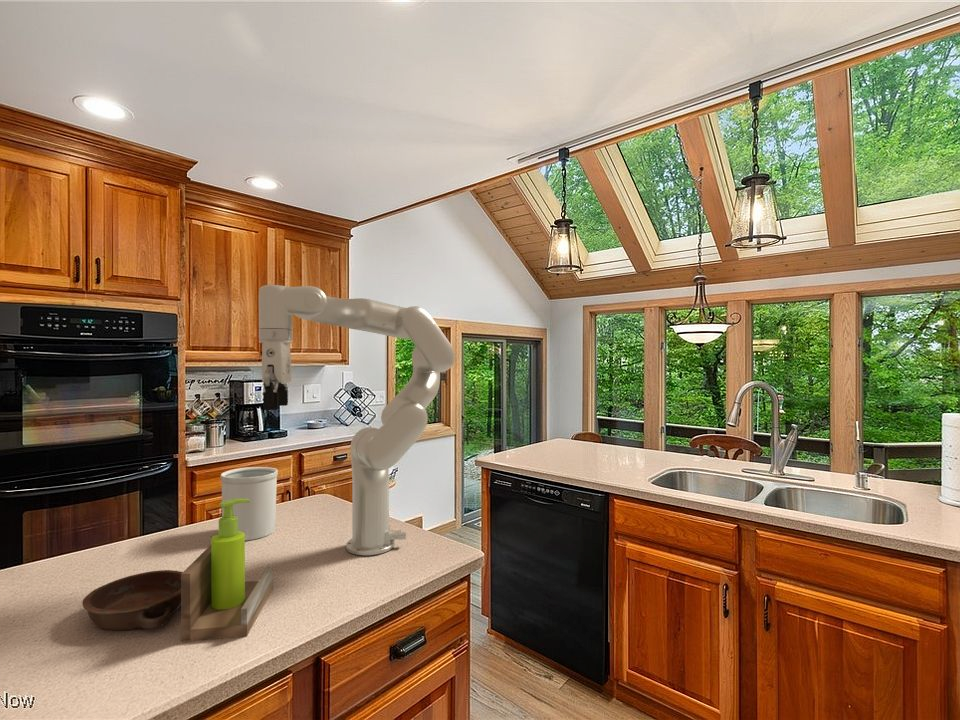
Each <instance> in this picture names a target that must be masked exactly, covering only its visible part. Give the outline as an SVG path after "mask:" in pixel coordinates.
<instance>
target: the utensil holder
mask: <svg viewBox="0 0 960 720" xmlns="http://www.w3.org/2000/svg"><path fill="white" fill-rule="evenodd" d="M278 472H279V470H278V469H277V468H275V467H270V466H269V467H268V466H249V467H239V468H234V469H229V470H226V471H224V472H222V473H221V474H220V481H221V502H224V501H227V500H231V499H237V498H246V499H249V500H251V501H250V502H249V503H239V504H235V505H233V515H235V516H237V517H238V531H241V532H244V533H245V542H246V541H251V540H252V541H253V540H257V539H261V538H265V537H267V536H270V535H272V532H273V533H274V531H275V530H276V516H277V515H276V514H277V487H278V486H277V484H278V482H277V481H278V480H277V477H278V475H279V473H278ZM222 517H223V508H222V507H221V518H222Z"/></svg>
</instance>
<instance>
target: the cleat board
mask: <svg viewBox="0 0 960 720" xmlns="http://www.w3.org/2000/svg"><path fill="white" fill-rule="evenodd" d="M182 572H183V573H182V574H181V604H180V642H190V641H203V640H212V639H213V640H215V639H226V638H238V637H239V638H240V637H241V638H242V637H247V636H248V635H249V634H250V631H251V630H252V627H253V626H254V624H255V622H256V620H257V619H258V617H259V615H260V613H261V611H262V610H263V607H264V606H265V604H266V602H267V600H268V598H269V597H270V595H271V593H272V591H273V590H274V566H272V565H271V566H267V567H266V569H265V571H264V573H263V574H262V576H261V577H260V579H259V580H255V581H254V580H253V581H245V600H244V602H243V603H241V604H240V605H238V606H236V607H233V608H230V609H224V610H218V609H214V608H212V606H211V544H210V545H209V546H208V547H207V548H206V549H205V550H204V551H203V552H202V553H201V554H200V555H199V556H198V557H197V558H195V560H194V561H192V563H191V564H189V566H188V567H187V568H186V569H185V570H184V571H182Z"/></svg>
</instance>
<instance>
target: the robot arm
mask: <svg viewBox="0 0 960 720" xmlns="http://www.w3.org/2000/svg"><path fill="white" fill-rule="evenodd" d="M293 315H294V316H295V317H297V318H299V319H302V320H306V321H309V322H314V323H320V324H326V325H329V326H336V327H342V328H346V329H351V330H357V331H363V332H367V333H372V334H378V335H382V336H387V337H392V338H395V339H403V340H411V342H412V344H413V345H414V348H413V350H412V352H411V362H412V375H411V377H410V379H409V381H407V383H406V384H405V385H404V386H403V388H402V389H401V390H399V392H398V393H397V394H396V395H395V396H394V397H393V398H392V399H391V400H390V402H388V403H387V405H385V406H384V408H383V410H382V411H381V416H380V420H381V423H382V425H381V426H380V427H379V428H377V427H369V426H368V427H363V428H361V429H359V430H358V431H357V432H356V433H355V434H354V436H353V437H352V439H351V443H350V451H349V453H350V460H351V461H350V462H351V477H352V480H351V481H352V494H351V495H352V496H351V497H352V510H351V511H352V516H351V517H352V518H351V519H352V521H351V522H352V524H351V526H352V529H351V531H352V532H351V535H352V536H351V537H352V538H350V539H349V540H348V541H347V542H346V544H345V549H346V551H347V552H349V553H350V554H353V555H355V556H356V555H357V556H376V555H381V554H383V553H384V554H385V553H386V552H389V551H390V550H392V549H393V548H395V542H396V541H397V540H399V541H400V540H401V541H403V540H407V539H406V538H407V532H406V531H402V529H397V530H393V529H391V524H390V475H389V474H390V473H389V469H391V468H393V466H395V465H396V464H397V463H398V462H399V461H400V459H402V457H404V455H405V454H406V453H407V452H408V451H409V450H410V449H411V447H413V445H414V444H415V443H417V441H418V439H419V438H421V436H422V435H423V433H424V431H426V428H427V425H428V422H429V421H428V417H429V416H428V412H427V410H426V409H427V408H428V406H430V404H431V403H432V402H433V400H434V399H435V397H436V396H437V394H438V392H439V389H440V383H441V373H444V372H447V371H449V370H450V369H451V368H452V367H453V365H454V364H455V360H456V359H455V358H456V353H455V351H454V350H455V349H454V348H453V346H452V344H451V342H450V341H449V340H448V338H447V336H446V335H445V334H444V333H443V331H442V330H441V328H440V326H439V325H438V324H437V322H436V321H435V320H434V318H433V317H432V316H431V314H430V313H429V312H428V311H427V310H426V309H424V308H423V307H420V306H419V305H418V306H417V305H413V306H408V307H405V306H400V305H395V304H390V303H386V302H382V301H378V300H373V299H370V298H340V297H339V298H338V297H334V296H333V297H332V296H328V295H326V294H325V292H324V291H323V290H322V289H321V288H319V287H318V286H317V287H316V286H313V285H303V286H302V285H301V286H285V285H281V284H267V285H266V284H265V285H262V286H261V287H260V288H259V291H258V343H259V344H262V349H261V352H262V353H261V380H262V383H263V387H262V388H263V389H262V391H263V393H262V402H263V403H262V409H263V410H264V411H277V410H279V407H283V406H288V405H289V403H288V401H289V400H288V398H289V394H288V393H289V389H288V387H289V386H288V384H289V383H290V382H291V381H292V379H293V378H292V377H293V376H292V374H293V373H292V355H291V347H290V344H293ZM395 540H396V541H395Z"/></svg>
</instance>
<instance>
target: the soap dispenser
mask: <svg viewBox="0 0 960 720" xmlns="http://www.w3.org/2000/svg"><path fill="white" fill-rule="evenodd" d="M250 501H251V500H249V499H246V498H237V499H231V500H227V501H224V502H222V501H221V502H219V503H218V506H219V507H220V508H221V509H222V508H223V517H222V516H221V517H220V518H219V519H218V534H215V535H213V536H212V537H211V542H210V545H211V606H212V608H214V609H218V610H224V609H230V608H233V607H236V606H238V605H240V604H241V603H243V602H244V600H245V582H246V576H245V575H246V569H245V568H246V560H245V559H246V558H245V557H246V555H245V554H246V549H245V548H246V541H245V533H244V532H241V531H238V517H237V516H235V515H233V505H235V504H239V503H249V502H250Z"/></svg>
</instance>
